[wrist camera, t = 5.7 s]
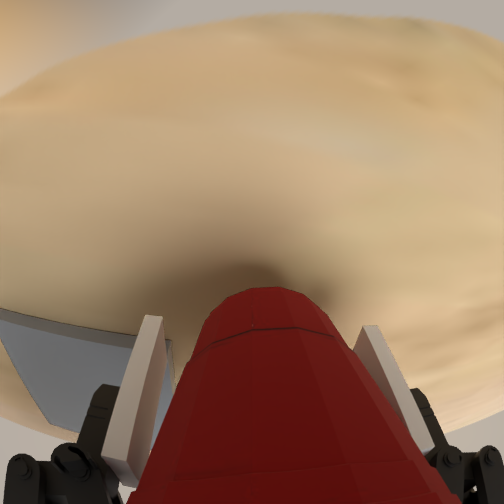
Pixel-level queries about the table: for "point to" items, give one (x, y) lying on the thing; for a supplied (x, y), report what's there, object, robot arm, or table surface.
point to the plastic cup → (282, 418)
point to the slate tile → (72, 366)
